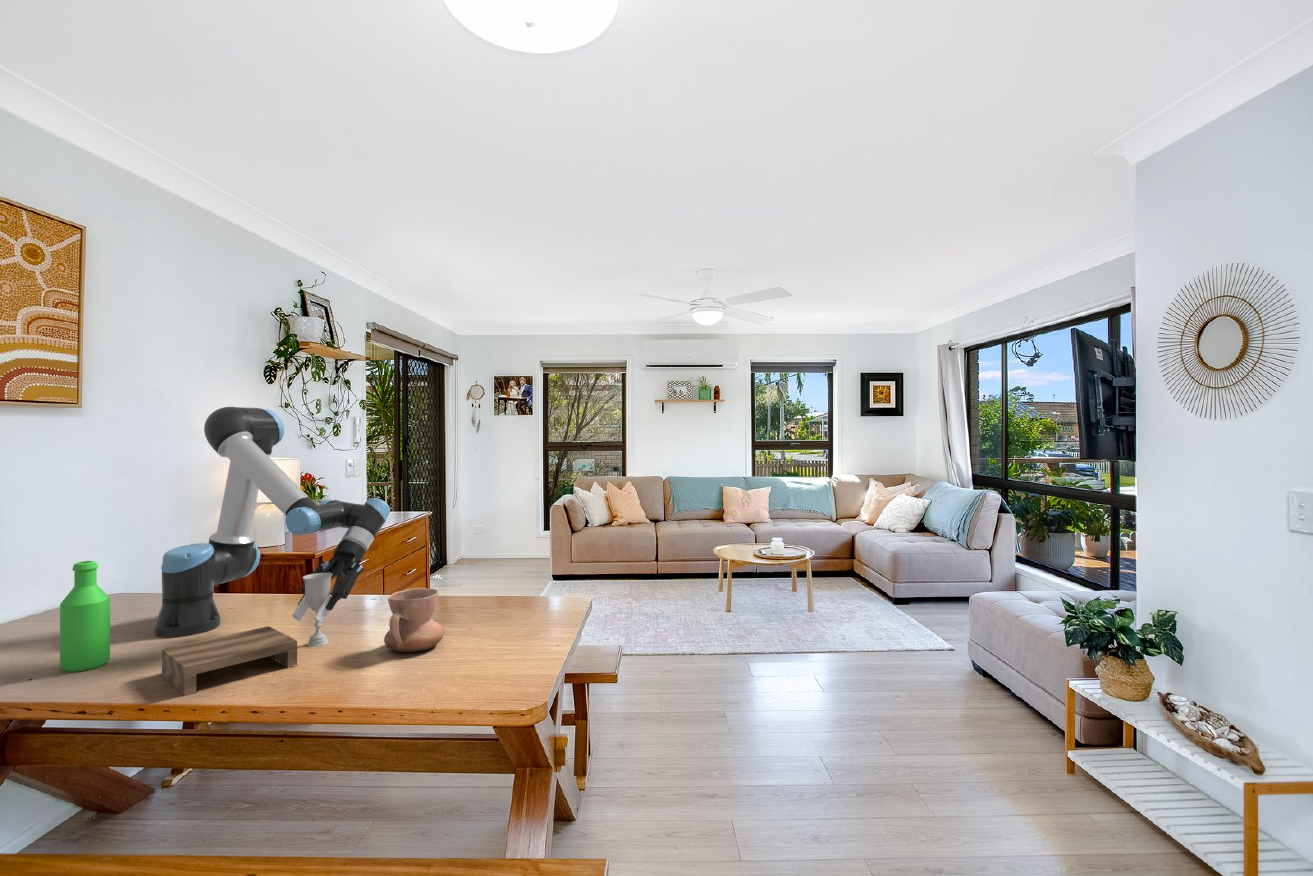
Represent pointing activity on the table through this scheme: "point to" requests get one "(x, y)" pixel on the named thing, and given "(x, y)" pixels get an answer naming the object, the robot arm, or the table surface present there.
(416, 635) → the ceramic jug
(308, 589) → the chalice
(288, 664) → the walnut shelf
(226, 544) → the robot arm
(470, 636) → the table surface
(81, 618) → the bottle
